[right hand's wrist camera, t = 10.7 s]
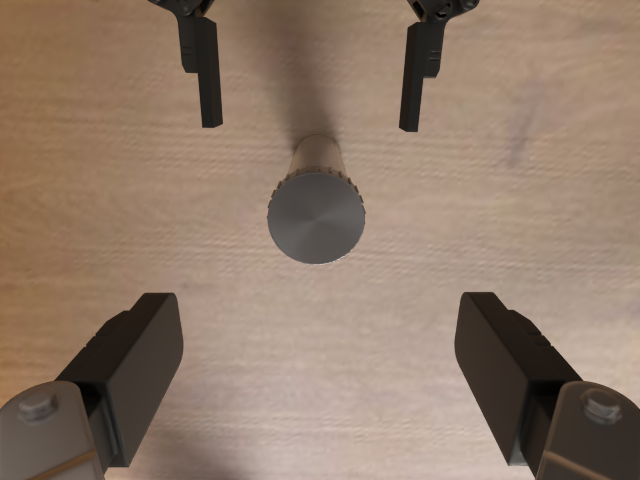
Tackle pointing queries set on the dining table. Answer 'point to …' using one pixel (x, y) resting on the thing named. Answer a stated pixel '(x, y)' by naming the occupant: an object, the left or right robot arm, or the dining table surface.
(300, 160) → the grey cylinder
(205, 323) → the dining table surface
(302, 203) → the lid
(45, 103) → the dining table surface
